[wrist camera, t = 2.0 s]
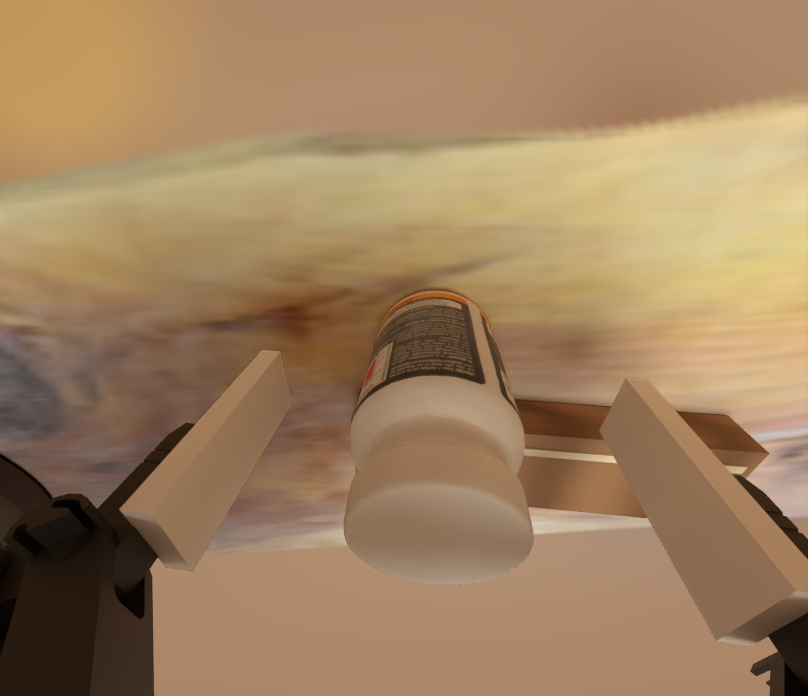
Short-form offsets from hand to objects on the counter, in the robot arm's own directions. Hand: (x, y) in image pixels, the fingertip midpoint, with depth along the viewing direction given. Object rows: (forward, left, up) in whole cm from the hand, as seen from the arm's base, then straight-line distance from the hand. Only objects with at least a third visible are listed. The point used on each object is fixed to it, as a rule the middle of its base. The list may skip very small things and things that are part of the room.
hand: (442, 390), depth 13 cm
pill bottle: (0, 0, -4) cm, 4 cm away
